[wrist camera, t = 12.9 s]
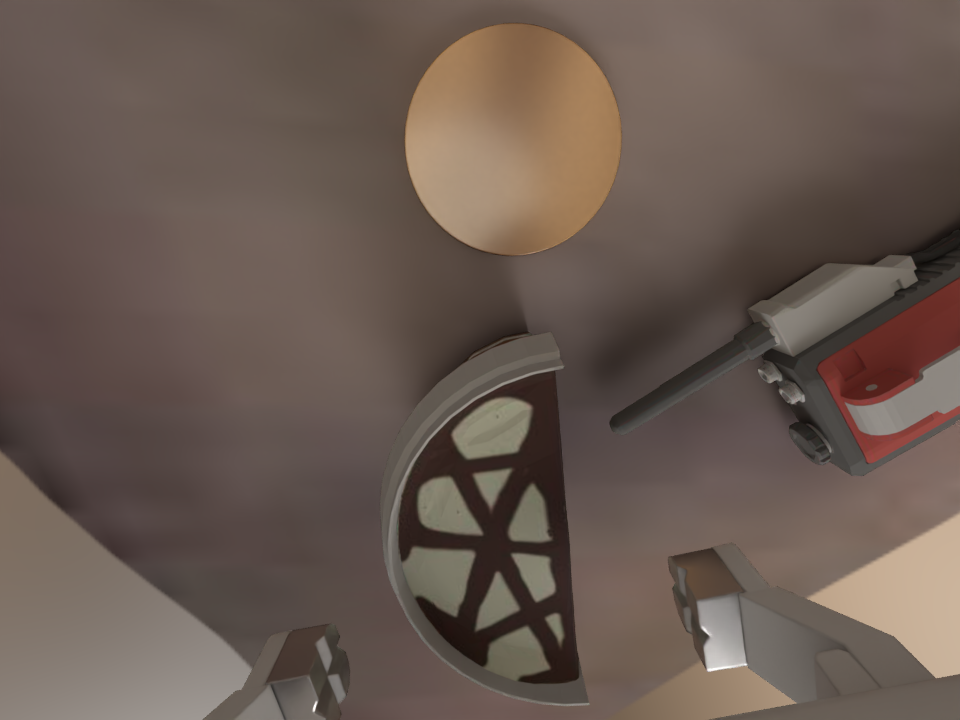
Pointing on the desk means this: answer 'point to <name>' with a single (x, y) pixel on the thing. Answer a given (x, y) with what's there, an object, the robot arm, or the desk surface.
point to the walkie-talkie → (849, 357)
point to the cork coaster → (513, 139)
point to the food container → (488, 524)
